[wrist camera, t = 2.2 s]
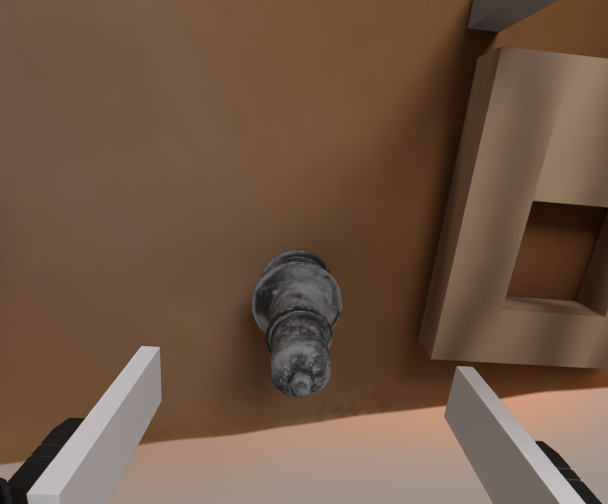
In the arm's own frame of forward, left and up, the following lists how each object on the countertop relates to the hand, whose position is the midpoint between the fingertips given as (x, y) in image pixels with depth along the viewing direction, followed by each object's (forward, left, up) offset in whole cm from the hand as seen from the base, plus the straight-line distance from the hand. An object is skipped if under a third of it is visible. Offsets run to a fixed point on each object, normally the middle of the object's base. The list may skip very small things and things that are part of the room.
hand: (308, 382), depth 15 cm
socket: (+18, +6, -11) cm, 22 cm away
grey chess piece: (0, 0, -11) cm, 11 cm away
